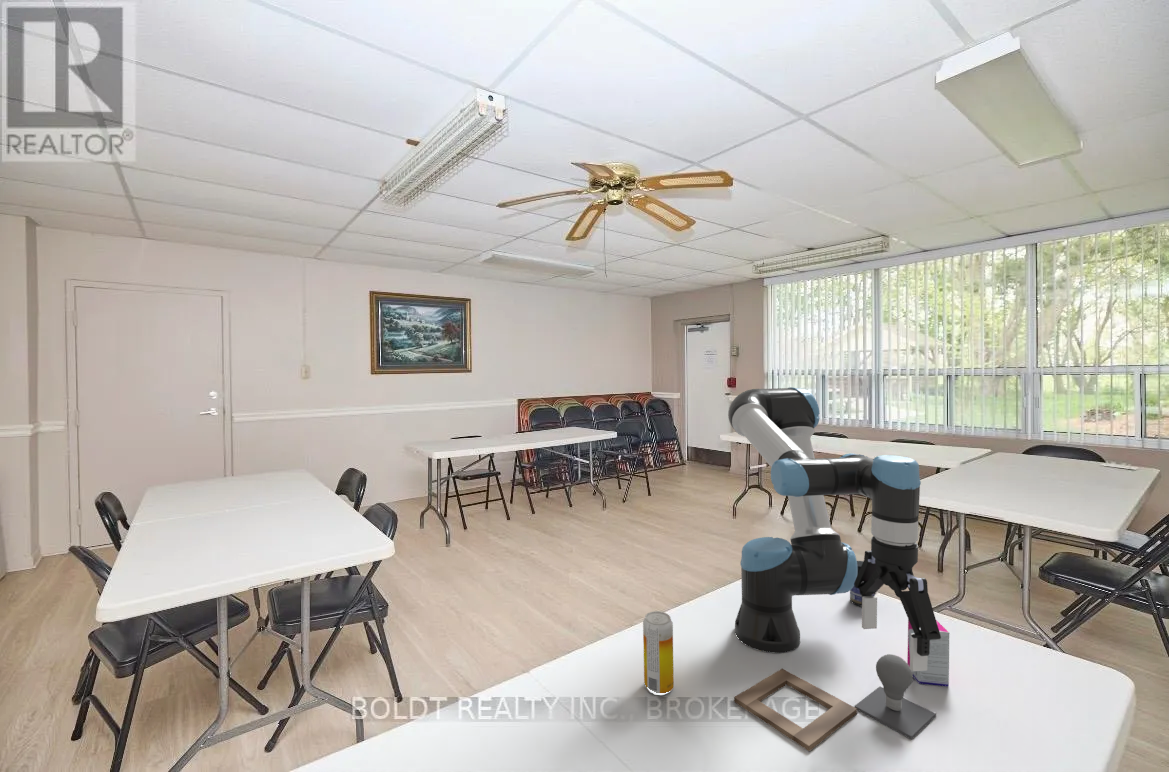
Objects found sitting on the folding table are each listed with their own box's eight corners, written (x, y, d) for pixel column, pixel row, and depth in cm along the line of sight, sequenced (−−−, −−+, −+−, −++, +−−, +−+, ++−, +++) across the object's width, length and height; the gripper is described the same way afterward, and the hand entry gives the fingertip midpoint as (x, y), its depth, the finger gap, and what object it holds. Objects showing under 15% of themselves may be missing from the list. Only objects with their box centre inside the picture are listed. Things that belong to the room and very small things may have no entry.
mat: (854, 708, 97) (854, 705, 97) (879, 689, 102) (879, 686, 102) (911, 739, 88) (911, 736, 88) (935, 716, 94) (935, 713, 94)
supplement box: (950, 687, 102) (950, 632, 102) (918, 684, 104) (918, 630, 103) (936, 670, 108) (936, 618, 108) (906, 668, 109) (906, 616, 109)
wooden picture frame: (733, 701, 99) (733, 696, 99) (782, 672, 108) (782, 668, 108) (809, 751, 86) (809, 745, 86) (857, 713, 95) (857, 708, 95)
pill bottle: (874, 610, 135) (874, 569, 135) (848, 604, 138) (848, 565, 138) (875, 600, 140) (875, 562, 140) (851, 595, 144) (850, 558, 143)
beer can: (676, 683, 106) (675, 613, 105) (669, 700, 100) (668, 627, 100) (649, 676, 108) (648, 608, 108) (640, 693, 103) (639, 621, 102)
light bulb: (918, 712, 94) (919, 660, 94) (900, 722, 92) (901, 668, 91) (887, 694, 100) (887, 645, 99) (868, 703, 97) (869, 652, 97)
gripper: (968, 565, 82) (964, 689, 83) (870, 516, 107) (868, 612, 108) (925, 568, 81) (922, 692, 83) (836, 518, 106) (835, 614, 108)
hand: (892, 647), depth 96 cm, fingers open, 13 cm apart
